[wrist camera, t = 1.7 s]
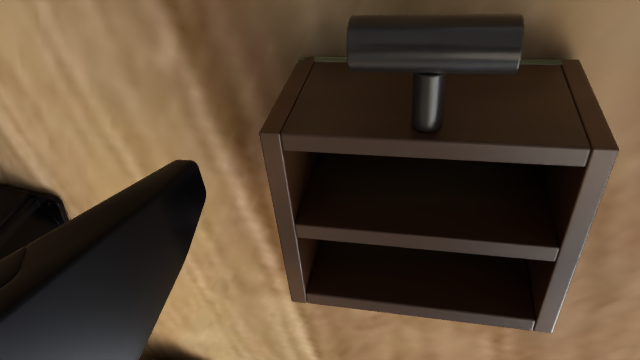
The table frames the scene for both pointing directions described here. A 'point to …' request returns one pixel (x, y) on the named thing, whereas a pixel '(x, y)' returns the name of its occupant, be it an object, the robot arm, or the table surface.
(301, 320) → the table surface
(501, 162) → the shelf
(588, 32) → the table surface
